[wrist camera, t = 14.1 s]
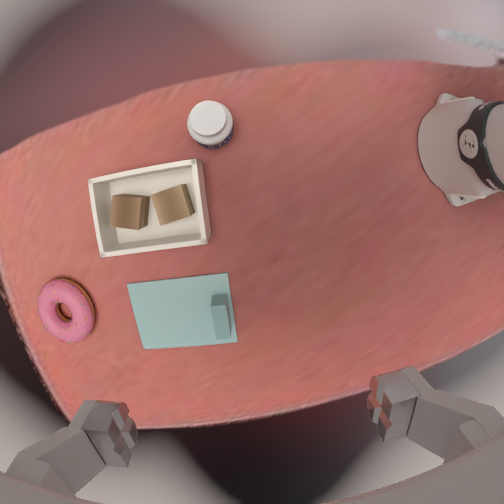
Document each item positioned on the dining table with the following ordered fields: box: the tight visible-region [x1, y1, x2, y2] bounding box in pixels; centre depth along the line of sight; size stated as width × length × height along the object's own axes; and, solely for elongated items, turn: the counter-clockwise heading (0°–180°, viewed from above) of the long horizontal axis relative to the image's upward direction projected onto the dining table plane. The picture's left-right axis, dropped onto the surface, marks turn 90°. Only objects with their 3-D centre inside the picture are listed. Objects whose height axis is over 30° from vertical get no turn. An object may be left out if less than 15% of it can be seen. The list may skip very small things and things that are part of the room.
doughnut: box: [38, 279, 95, 343], centre depth 42 cm, size 11×11×4 cm
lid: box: [127, 272, 238, 349], centre depth 43 cm, size 15×11×5 cm
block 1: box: [110, 193, 150, 230], centre depth 38 cm, size 4×4×4 cm
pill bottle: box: [187, 101, 233, 149], centre depth 35 cm, size 5×5×9 cm
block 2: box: [151, 184, 195, 226], centre depth 38 cm, size 4×4×4 cm
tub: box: [88, 159, 211, 258], centre depth 38 cm, size 14×10×6 cm
